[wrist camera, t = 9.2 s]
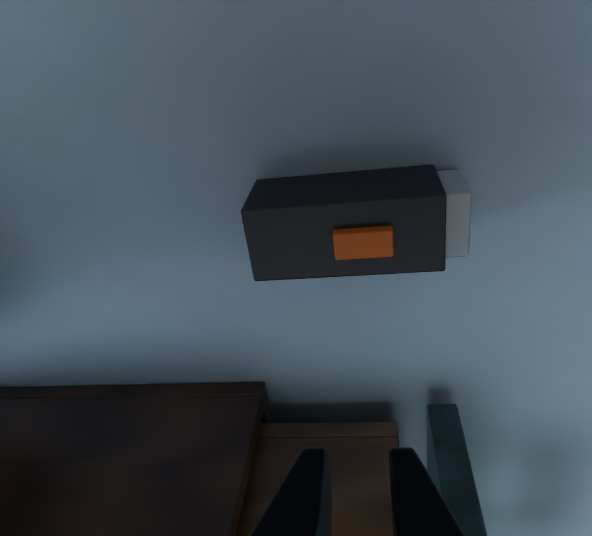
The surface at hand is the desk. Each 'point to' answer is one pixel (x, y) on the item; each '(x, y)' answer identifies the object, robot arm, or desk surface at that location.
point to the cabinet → (127, 458)
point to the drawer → (364, 471)
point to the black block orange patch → (357, 223)
